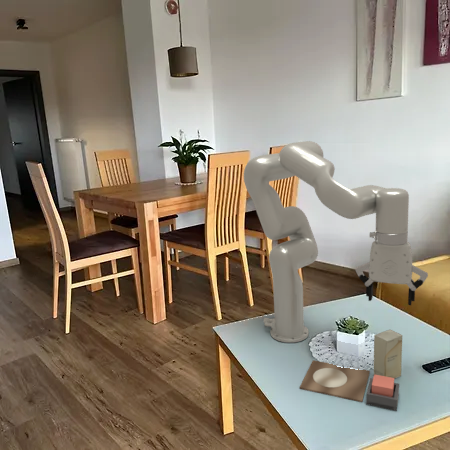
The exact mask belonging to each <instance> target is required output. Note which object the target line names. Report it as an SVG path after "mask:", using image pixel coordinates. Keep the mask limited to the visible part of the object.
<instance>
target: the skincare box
mask: <svg viewBox="0 0 450 450" xmlns="http://www.w3.org/2000/svg"><path fill="white" fill-rule="evenodd" d="M373 340H374V341H373V375H374V374H375V375H380V376H385V377H391V378H394V380H395V379H397V378H400V377H401V376H402V358H403V355H402V353H403V334H400V333H399V332H396V331H394V330H393V329H387V330H385V331H381V332H379V333H376V334H374V337H373Z"/></svg>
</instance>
